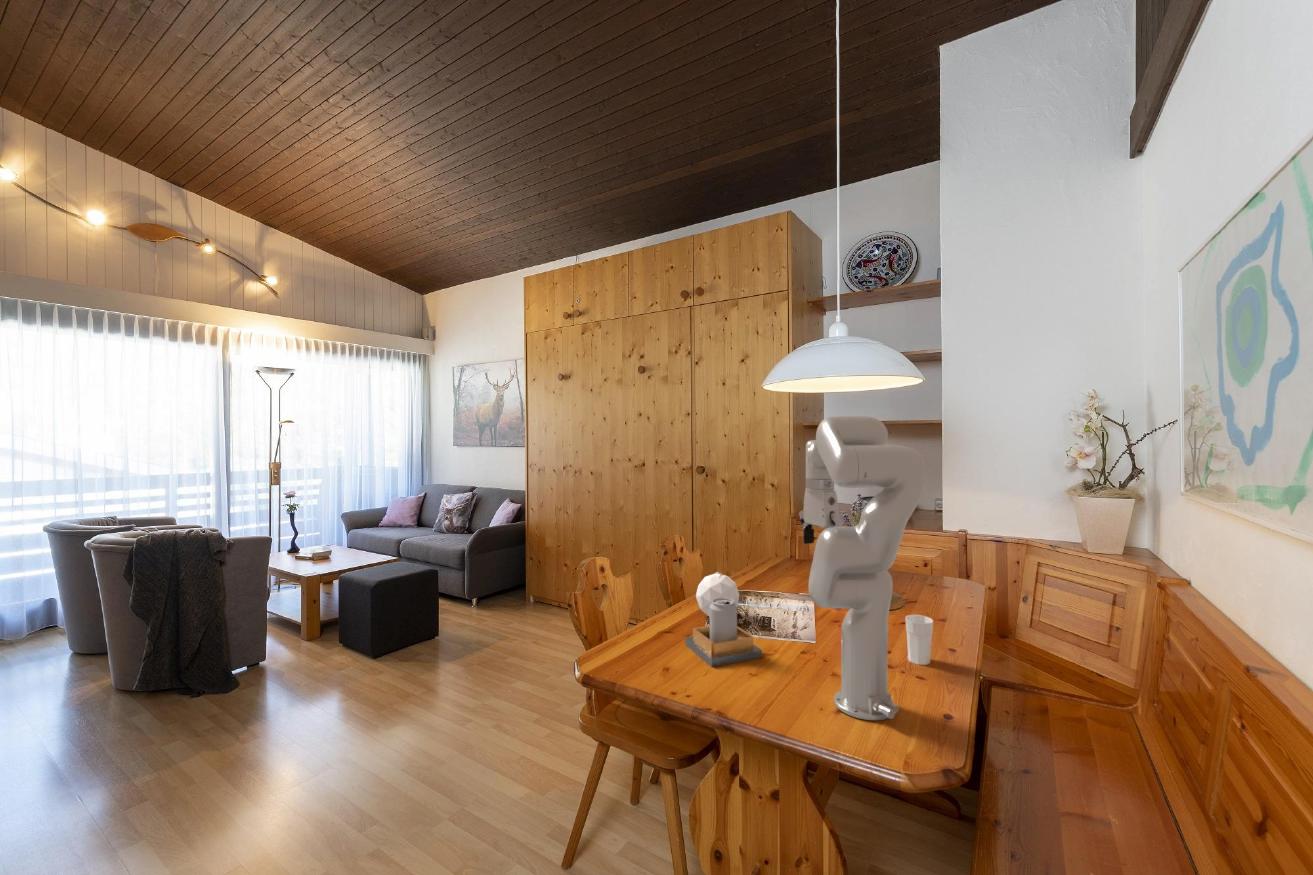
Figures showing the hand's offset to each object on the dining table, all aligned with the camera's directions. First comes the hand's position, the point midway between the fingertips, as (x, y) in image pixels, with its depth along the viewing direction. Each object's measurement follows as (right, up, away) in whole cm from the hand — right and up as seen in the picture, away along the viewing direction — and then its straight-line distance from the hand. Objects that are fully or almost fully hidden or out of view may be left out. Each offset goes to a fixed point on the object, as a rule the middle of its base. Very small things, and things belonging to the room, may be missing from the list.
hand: (819, 546), depth 156 cm
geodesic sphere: (-25, -28, +27) cm, 46 cm away
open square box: (-27, -29, -1) cm, 39 cm away
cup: (+24, -29, -8) cm, 38 cm away
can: (-27, -27, -1) cm, 38 cm away
